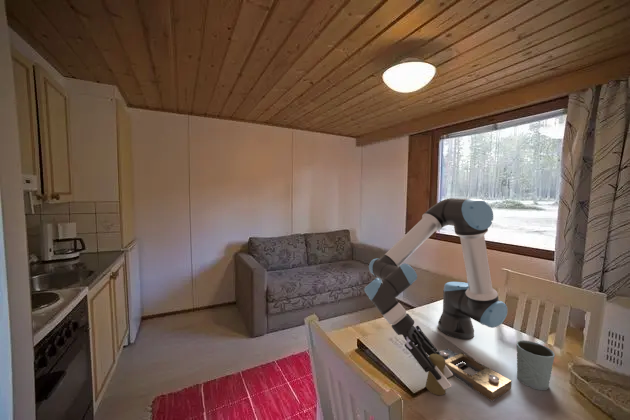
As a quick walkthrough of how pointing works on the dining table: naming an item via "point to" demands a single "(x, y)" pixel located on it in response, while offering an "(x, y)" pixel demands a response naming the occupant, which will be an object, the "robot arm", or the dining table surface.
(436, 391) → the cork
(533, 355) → the grey green cup
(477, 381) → the slotted wooden plate
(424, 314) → the dining table surface
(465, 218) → the robot arm
